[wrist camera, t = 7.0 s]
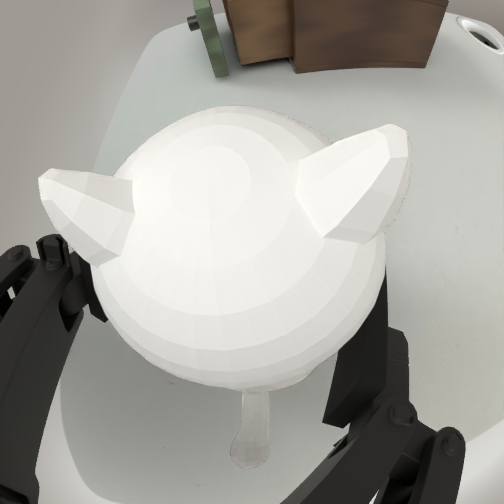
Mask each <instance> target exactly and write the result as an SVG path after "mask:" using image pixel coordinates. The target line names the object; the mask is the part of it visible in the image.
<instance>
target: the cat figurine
mask: <svg viewBox="0 0 504 504" xmlns="http://www.w3.org/2000/svg"><path fill="white" fill-rule="evenodd" d="M410 171H411V145H410V140H409V137H408V135H407V132H406V130H403V129H401V128H399V127H397V126H395V125H393V124H387V125H384V126H381V127H378V128H376V129H373V130H369V131H366V132H363V133H360V134H357V135H354V136H351V137H348V138H345V139H342V140H340V141H338V142H336V143H334V144H333V143H332V142H330V141H329V140H328V139H327V138H326V137H324V136H323V135H322V134H320V133H318V132H317V131H315V130H313V129H311V128H310V127H308V126H306V125H304V124H302V123H301V122H298V121H296V120H294V119H291V118H289V117H286V116H284V115H281V114H279V113H275V112H272V111H268V110H264V109H261V108H255V107H248V106H219V107H215V108H210V109H205V110H201V111H199V112H196V113H193V114H191V115H188V116H186V117H183V118H182V119H180V120H178V121H176V122H174V123H172V124H171V125H169V126H167V127H165V128H164V129H162V130H161V131H159V132H158V133H156V134H155V135H154V136H152V137H151V138H149V139H148V140H147V141H146V142H144V143H143V144H142V145H141V146H140V147H139V148H138V149H137V150H136V151H135V152H134V153H133V154H131V155H130V156H129V157H128V158H127V159H126V161H125V162H124V163H123V164H122V165H121V167H120V168H119V169H118V170H117V172H116V173H115V174H114V176H113V177H110V176H105V175H100V174H95V173H90V172H81V171H72V170H63V169H54V168H50V169H49V170H48V171H47V172H45V173H44V174H43V175H42V176H40V177H39V178H38V182H39V190H40V197H41V202H42V204H43V206H44V208H45V210H46V212H47V214H48V216H49V218H50V220H51V222H52V224H53V225H54V227H55V229H56V230H57V231H58V232H59V233H60V234H61V236H62V237H63V238H64V239H65V240H66V241H67V243H68V244H69V245H70V246H71V247H72V248H73V249H74V250H75V251H76V252H77V253H78V254H79V255H80V256H81V257H82V258H83V259H84V260H85V261H87V262H88V263H90V266H91V272H92V278H93V284H94V289H95V292H96V294H97V297H98V299H99V301H100V304H101V306H102V308H103V310H104V313H105V315H106V316H107V318H108V319H109V320H110V322H111V323H112V325H113V326H114V327H115V329H116V330H117V331H118V333H119V334H120V335H121V337H122V338H123V339H124V340H125V341H126V342H127V343H128V344H129V345H130V346H131V347H132V348H133V349H134V350H136V351H137V352H138V353H139V354H140V355H142V356H143V357H144V358H145V359H147V360H148V361H149V362H150V363H152V364H153V365H155V366H157V367H159V368H161V369H163V370H165V371H167V372H169V373H171V374H173V375H175V376H177V377H179V378H182V379H185V380H189V381H192V382H196V383H200V384H204V385H207V386H213V387H225V388H228V389H231V390H236V391H242V411H241V419H240V424H239V429H238V433H237V436H236V438H235V440H234V442H233V444H232V446H231V451H230V455H231V459H232V460H233V462H234V463H235V464H236V465H237V466H239V467H241V468H247V469H250V468H255V467H257V466H259V465H261V464H262V463H264V462H265V460H266V458H267V457H268V453H269V446H270V407H269V391H271V390H277V389H281V388H285V387H289V386H291V385H294V384H296V383H298V382H300V381H302V380H304V379H305V378H306V377H307V376H308V375H309V374H310V373H311V371H312V370H313V369H314V368H315V367H316V366H317V365H319V364H320V363H322V362H323V361H325V360H327V359H328V358H330V357H331V356H333V355H334V354H335V353H336V352H337V351H338V350H339V349H340V348H341V347H342V346H343V345H344V344H345V343H346V342H347V341H349V340H350V339H351V338H352V337H353V336H354V335H355V333H356V332H357V331H358V329H359V328H360V326H361V325H362V324H363V322H364V321H365V319H366V318H367V316H368V315H369V313H370V312H371V310H372V308H373V307H374V305H375V302H376V300H377V297H378V294H379V291H380V288H381V285H382V282H383V279H384V276H385V263H386V240H385V234H384V230H385V229H386V228H387V227H388V226H389V225H390V224H391V223H392V222H393V221H394V220H395V218H396V216H397V214H398V212H399V209H400V207H401V205H402V203H403V200H404V198H405V196H406V193H407V191H408V186H409V179H410Z"/></svg>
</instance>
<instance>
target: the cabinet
mask: <svg viewBox="0 0 504 504" xmlns="http://www.w3.org/2000/svg"><path fill="white" fill-rule="evenodd" d="M448 2H449V1H448V0H291V9H292V29H293V56H292V57H288V58H289V60H290V62H291V64H292V66H293V68H294V70H295V72H296V73H304V72H312V71H322V70H333V69H346V68H367V67H409V68H425V67H426V64H427V61H428V59H429V56H430V53H431V51H432V48H433V46H434V43H435V40H436V37H437V35H438V32H439V29H440V26H441V23H442V20H443V17H444V14H445V11H446V7H447V5H448Z"/></svg>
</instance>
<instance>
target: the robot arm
mask: <svg viewBox="0 0 504 504" xmlns="http://www.w3.org/2000/svg"><path fill="white" fill-rule="evenodd" d="M36 244H37V248H38V253H39V256H40V259H36V258H32V256H31V253H30V249H29V247H27V246H25V245H17V246H15V247H12V248H10V249H9V250H7V251H6V252H5V253H4V254H3V255H2V256H0V504H38V497H39V482H38V480H37V478H36V475H35V467H36V462H37V457H38V452H39V448H40V444H41V439H42V436H43V431H44V427H45V424H46V420H47V417H48V413H49V410H50V406H51V403H52V400H53V396H54V393H55V390H56V387H57V384H58V381H59V378H60V375H61V372H62V370H63V367H64V364H65V361H66V359H67V356H68V353H69V351H70V348H71V346H72V343H73V340H74V338H75V335H76V333H77V331H78V328H79V326H80V323H81V321H82V319H83V315H84V312H83V309H82V308H83V307H84V306H85V305H87V304H89V308H90V312H91V314H92V315H93V316H95V317H96V318H98V319H99V320H101V321H103V322H104V323H105V322H106V321H107V320H108V318H107V316H106V315H105V313H104V310H103V308H102V306H101V304H100V301H99V299H98V297H97V294H96V292H95V289H94V284H93V278H92V272H91V266H90V263H88V262H87V261H85V260H84V259H83V258H82V257H81V256H80V255H79V254H78V253H77V252H76V251H74V252H72V253H71V254H69V249H68V244H67V241H66V240H65V239H64V238H63V237H62V236H61V235H60V234H51V235H47V236H44V237H42V238H40V239H39V240H38V241H37V242H36ZM11 286H12V288H13V291H14V293H15V297H14V298H13V299H11V298H10V296H9V294H8V291H7V290H8V289H9V288H10V287H11ZM408 364H409V357H408V342H407V340H406V338H405V336H404V334H403V332H402V331H399V330H396V329H393V328H390V327H388V303H387V279H386V264H385V276H384V279H383V282H382V285H381V288H380V291H379V294H378V297H377V300H376V302H375V305H374V307H373V308H372V310H371V312H370V313H369V315H368V316H367V318H366V319H365V321H364V322H363V324H362V325H361V326H360V328H359V329H358V331H357V332H356V333H355V335H354V336H353V337H352V338H351V339H350V340H349V341H347V342H346V343H345V344H344V345H343V346H342V347H341V348H340V349H339V352H338V357H337V361H336V366H335V371H334V375H333V380H332V384H331V389H330V393H329V397H328V401H327V405H326V409H325V413H324V417H323V421H322V423H325V424H329V425H332V426H336V427H339V428H344V427H345V426H346V425H347V424H349V423H350V427H349V432H348V434H347V435H346V436H344V437H343V438H342V439H341V440H339V441H338V442H337V443H336V444H334V445H333V446H334V447H335V448H334V449H333V450H332V451H331V452H330V453H329V455H328V456H327V457H326V458H325V459H324V460H323V461H322V462H321V464H320V465H319V466H318V467H317V468H316V469H315V470H314V471H313V472H312V473H311V474H310V475H309V476H308V477H307V478H306V479H305V480H304V481H303V482H302V483H301V484H300V485H299V486H298V487H297V488H296V489H295V490H294V491H293V492H292V493H291V494H290V495H289V496H288V497H287V498H286V499H285V500H284V501H283V502H282V503H280V504H369V502H370V501H371V500H372V498H373V497H374V496H375V494H376V493H377V491H378V490H379V491H378V493H377V496H376V498H375V501H374V503H373V504H455V503H456V499H457V495H458V490H459V486H460V481H461V475H462V470H463V464H464V458H465V450H466V449H465V441H464V438H463V436H462V434H461V433H460V432H459V431H458V430H457V429H455V428H454V427H445V428H442V429H441V430H439V431H438V432H436V431H434V430H433V429H431V428H429V427H428V426H426V425H424V424H423V423H421V422H420V421H419V420H418V418H417V412H416V410H415V408H414V406H413V405H412V404H411V403H410V402H409V366H408Z"/></svg>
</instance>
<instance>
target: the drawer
mask: <svg viewBox="0 0 504 504" xmlns="http://www.w3.org/2000/svg"><path fill="white" fill-rule="evenodd" d="M193 3H194V10H195V14H196V15H194V16H190V17H188V18H187V21H188V25H189V28H190V30H191V31H194V30H198V29H201V32H202V36H203V39H204V42H205V45H206V48H207V51H208V55H209V58H210V61H211V64H212V67H213V71H214V74H215V77H216V78H218V77H222V76H226V75H229V74H228V70H227V66H226V62H225V57H224V53H223V50H222V46H221V42H220V38H219V34H218V30H217V26H216V22H215V18H214V15H213V11H212V7H211V4H210V0H193ZM223 4H224V9H225V13H226V17H227V21H228V25H229V28H230V31H231V34H232V37H233V40H234V44H235V47H236V50H237V53H238V56H239V59H240V63H241V65H244V64H249V63H254V62H260V61H265V60H271V59H278V58H284V57H292V56H293V29H292V9H291V0H223Z"/></svg>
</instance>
